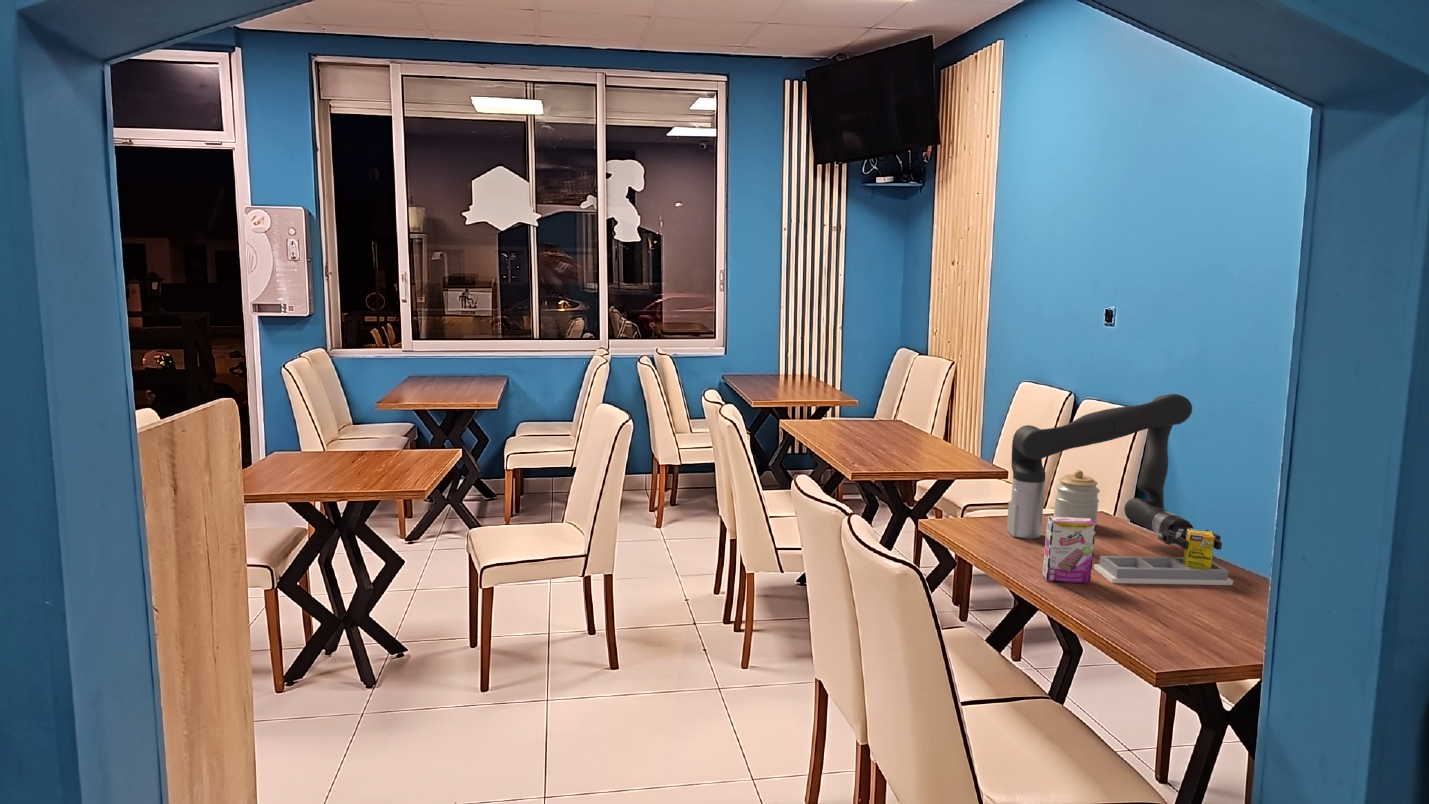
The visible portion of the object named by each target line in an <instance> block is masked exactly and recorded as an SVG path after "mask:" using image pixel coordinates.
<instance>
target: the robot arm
mask: <svg viewBox="0 0 1429 804" xmlns="http://www.w3.org/2000/svg"><path fill="white" fill-rule="evenodd" d="M1192 412H1193V404H1192V403H1191V401H1190V400H1189V399H1188V398H1187V397H1185V396H1183V395H1181V394H1177V393H1170V394H1163V395H1158V396H1157V397H1155V398H1154V399H1153V400H1152V401H1149V402H1146V403H1143V404H1137V405H1130V406H1129V405H1127V406H1120V407H1119V406H1118V407H1112V408H1106V409H1102V410H1098V411H1094V412H1090V413H1087V414H1084V415H1082V416H1080V417H1078V418H1076V419H1075V420H1073V421H1071V422H1070V423H1067V424H1064V425H1061V426H1056V427H1052V428H1051V427H1050V428H1038V427H1037V426H1035V425H1029V424H1027V425H1026V424H1025V425H1023V426H1021V427H1019V428H1018V429H1016V431H1015V433H1014V434H1013V438H1012V444H1011V470H1012V484H1011V485H1012V486H1011V500H1009V501H1008V507H1007V508H1008V509H1007V510H1008V511H1007V524H1006V532H1007V533H1008V534H1009V535H1010V536H1012V537H1014V538H1015V537H1016V538H1021V539H1022V538H1023V539H1038V538H1041V536H1042V528H1043V527H1042V526H1043V525H1042V524H1043V513H1044V512H1043V511H1044V501H1045V498H1044V497H1045V487H1046V470H1045V468H1044V466H1043V459H1045V458H1048V457H1050V456H1053V455H1056V454H1058V453H1061V452H1064V451H1067V450H1070V449H1075V448H1081V447H1086V446H1091V445H1094V444H1095V445H1096V444H1100V443H1105V442H1109V441H1113V440H1116V439H1120V438H1123V437H1126V436H1130V435H1133V434H1135V433H1139V432H1141V431H1144V430H1147V432H1146V433H1147V434H1146V442H1145V443H1146V444H1145V448H1144V449H1145V451H1144V455H1143V460H1142V464H1141V469H1140V472H1139V477H1138V481H1137V488H1138V490H1139V491H1142V492H1143V493H1145V494H1147V497H1148V500H1147V499H1144V498H1139V497H1133V498H1131V499H1129V500H1128V501H1126V503H1125V505H1124V514H1125V516H1126V518H1127V519H1128V520H1129V521H1131V522H1133V523H1135V524H1137V525H1141V526H1142V527H1145V528H1147V529H1149V530H1150V531H1152V532H1154V533H1155V534H1157V535H1158V538H1157V539H1158V540H1160V541H1161V542H1162V543H1165V544H1166V545H1168V546H1169V545H1175V546H1176V547H1180V548H1182V549H1184V550H1185V549H1188V546H1189V542H1188V541H1187V540H1186V533H1187V529H1191V530H1197V529H1195V527H1193V525H1192V523H1191V522H1190V521H1189V520H1187V519H1185V518H1183V517H1181V516H1180V515H1177V514H1176V513H1173V512H1170V511H1168V510H1167V509H1165V501H1164V500H1165V499H1164V487H1165V484H1166V479H1167V475H1168V471H1169V451H1168V444H1169V438H1170V433H1171V431H1172V428H1173V426H1177V425H1180V424H1182V423H1185V422H1186V421H1187V420H1188V419H1190V416H1191V415H1192ZM1204 531H1207V532H1208V531H1210V532H1212V534H1213V536H1214V546H1213V549H1215V550H1217V551H1218V550H1219V551H1220V550H1222V548H1223V547H1222V546H1223V542H1221V538H1222V536H1221V535H1219V534H1217V533H1214V532H1213V531H1211V530H1209V529H1205V530H1204Z"/></svg>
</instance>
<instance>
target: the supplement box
mask: <svg viewBox="0 0 1429 804" xmlns="http://www.w3.org/2000/svg"><path fill="white" fill-rule="evenodd" d="M1210 531H1211V530H1209V531H1208V532H1207V531H1205V530H1197V529H1196V530H1191V529H1187V533H1186V540H1187V541H1188V542H1189V546H1188V549H1184V552H1183V557H1184V560H1183V564H1184V565H1186V566H1187V567H1189V568H1190V569H1211V564H1212V561H1213V554H1214V548H1213V546H1214V536H1213V534H1212V532H1213V531H1211V532H1210Z"/></svg>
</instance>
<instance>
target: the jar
mask: <svg viewBox="0 0 1429 804" xmlns="http://www.w3.org/2000/svg"><path fill="white" fill-rule="evenodd" d="M1058 481H1059V483H1057V484H1056V485H1055V488H1056V494H1055V495H1054V498H1055V499H1054V501H1055V502H1054V513H1053V517H1070V518H1089V519H1091V520H1092V521H1094V522H1095V523H1096V525H1097V524H1098V510H1099V509H1098V508H1099V502H1100V501H1099V497H1098V494H1099V493H1100V492H1101V491H1100V488H1098V487H1097V485H1098V482H1097V481H1096V480H1095V479H1094V478H1093V477H1092V476H1088V475H1084V472H1083V471H1082V470H1080V469H1077V470H1075V472H1074V474H1065V475H1063V476H1062V477H1060V478H1058Z"/></svg>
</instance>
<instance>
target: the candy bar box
mask: <svg viewBox="0 0 1429 804" xmlns="http://www.w3.org/2000/svg"><path fill="white" fill-rule="evenodd" d="M1046 522H1047V523H1046V531H1045V539H1044V541H1045V542H1044V554H1043V562H1042V563H1043V564H1042V574H1041V576H1042V577H1043V578H1044V580H1045V581H1046V582H1051V583H1053V582H1055V583H1067V584H1068V583H1069V584H1091V579H1092V578H1091V577H1092V569H1093V568H1092V567H1093V560H1094V559H1093V558H1094V550H1095V549H1094V548H1095V539H1096V531H1097V530H1096V528H1097V524H1096V523H1095V522H1094V521H1092V520H1091V519H1089V518H1070V517H1054V515H1052V516H1051V515H1050V516H1047V518H1046Z"/></svg>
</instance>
